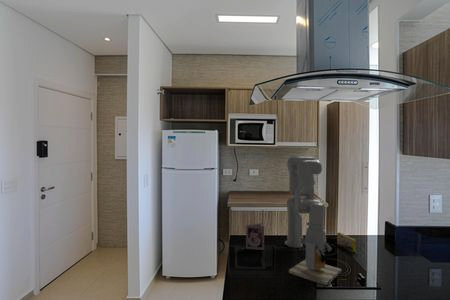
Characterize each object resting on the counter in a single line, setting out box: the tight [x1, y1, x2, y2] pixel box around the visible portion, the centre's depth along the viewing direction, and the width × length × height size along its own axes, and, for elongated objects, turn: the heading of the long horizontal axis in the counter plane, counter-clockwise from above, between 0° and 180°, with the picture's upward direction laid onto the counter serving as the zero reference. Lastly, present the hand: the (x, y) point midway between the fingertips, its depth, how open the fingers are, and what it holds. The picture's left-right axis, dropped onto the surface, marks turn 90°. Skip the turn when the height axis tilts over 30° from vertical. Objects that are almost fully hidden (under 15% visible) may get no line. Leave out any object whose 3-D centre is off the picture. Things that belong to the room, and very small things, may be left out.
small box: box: [305, 242, 327, 270], centre depth 151 cm, size 8×6×13 cm
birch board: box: [288, 258, 342, 287], centre depth 151 cm, size 20×20×2 cm
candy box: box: [336, 231, 357, 253], centre depth 187 cm, size 16×2×8 cm, turn 15°
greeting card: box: [245, 222, 265, 251], centre depth 185 cm, size 11×7×15 cm, turn 83°
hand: (315, 259), depth 151 cm, fingers closed on small box, 7 cm apart
